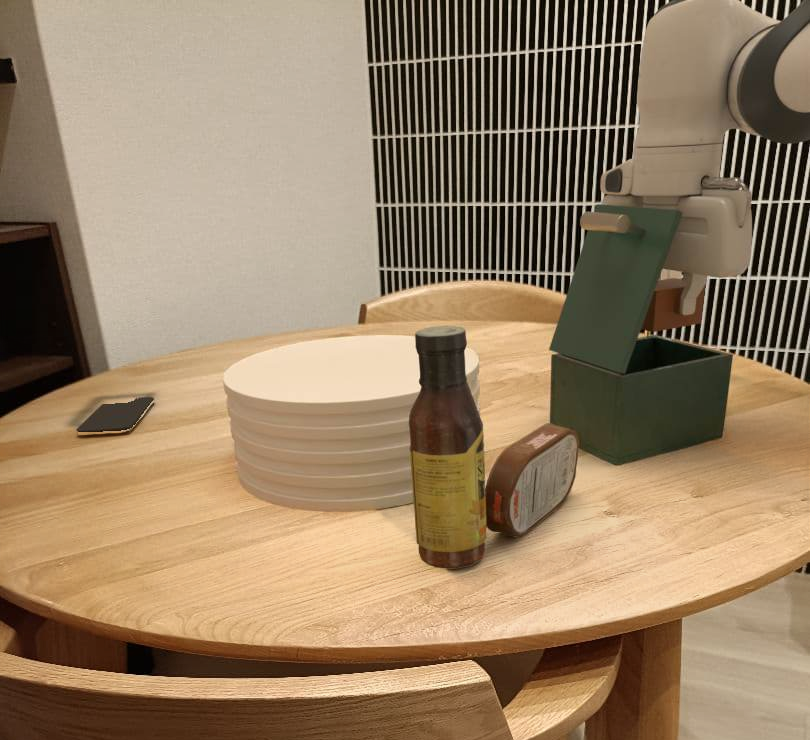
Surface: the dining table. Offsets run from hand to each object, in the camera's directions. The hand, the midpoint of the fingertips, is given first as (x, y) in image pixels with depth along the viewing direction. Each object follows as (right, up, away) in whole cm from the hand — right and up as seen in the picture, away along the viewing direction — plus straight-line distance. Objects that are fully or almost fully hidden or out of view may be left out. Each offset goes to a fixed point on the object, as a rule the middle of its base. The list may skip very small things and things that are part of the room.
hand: (663, 309), depth 92 cm
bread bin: (-2, -14, +5) cm, 15 cm away
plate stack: (-34, -17, +3) cm, 39 cm away
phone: (-70, -9, +23) cm, 74 cm away
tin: (-17, -24, -14) cm, 33 cm away
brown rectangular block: (0, -1, +1) cm, 2 cm away
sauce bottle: (-25, -28, -19) cm, 42 cm away
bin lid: (-7, +1, -4) cm, 8 cm away
